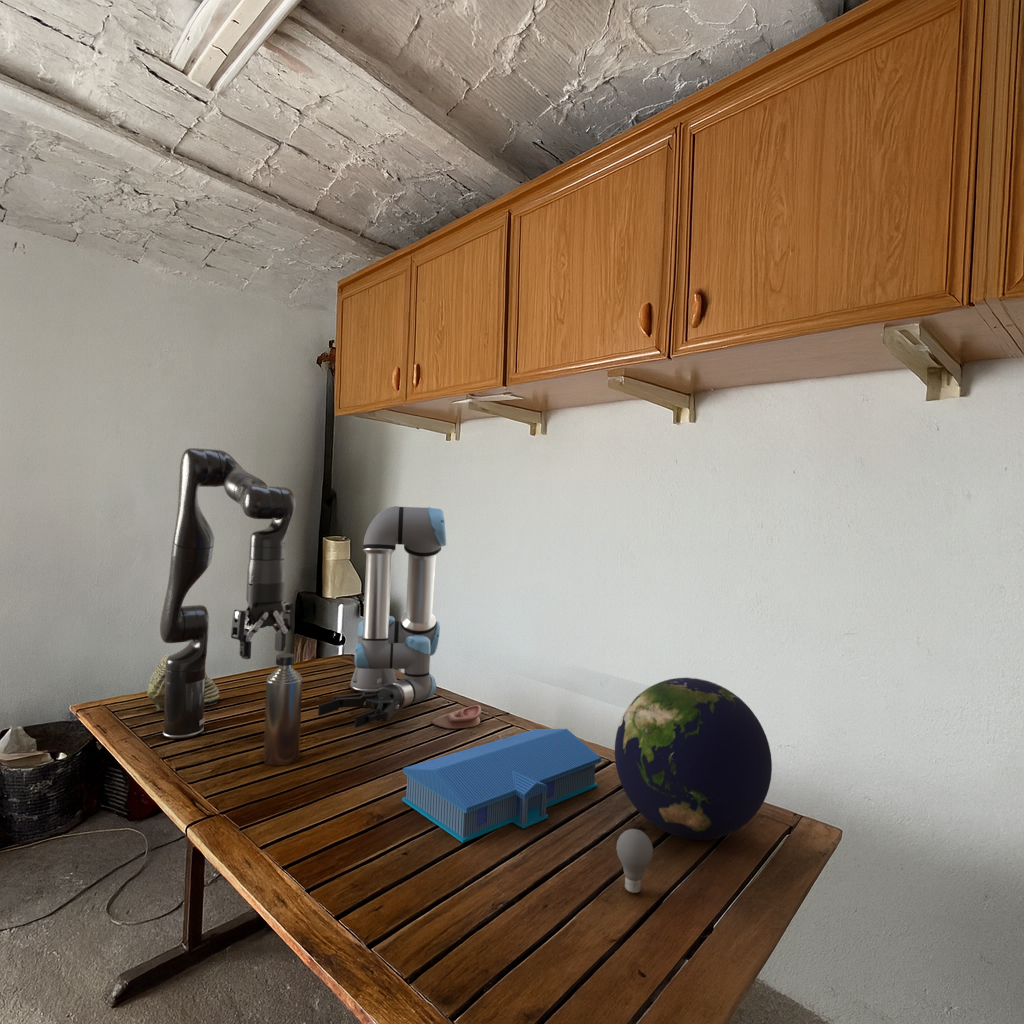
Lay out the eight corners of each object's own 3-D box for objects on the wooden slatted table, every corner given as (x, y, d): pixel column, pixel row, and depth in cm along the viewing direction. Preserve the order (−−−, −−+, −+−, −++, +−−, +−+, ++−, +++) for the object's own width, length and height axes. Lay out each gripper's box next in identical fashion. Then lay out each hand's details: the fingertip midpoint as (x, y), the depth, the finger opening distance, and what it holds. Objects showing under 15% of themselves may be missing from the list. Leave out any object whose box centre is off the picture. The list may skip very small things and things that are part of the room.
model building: (473, 850, 116) (475, 796, 115) (400, 799, 134) (402, 752, 134) (609, 791, 142) (611, 746, 142) (533, 755, 160) (535, 716, 160)
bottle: (265, 753, 155) (269, 653, 154) (300, 750, 157) (303, 652, 156) (261, 766, 147) (265, 661, 147) (298, 764, 149) (302, 660, 149)
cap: (276, 661, 153) (277, 653, 153) (294, 661, 154) (294, 653, 154) (275, 666, 149) (275, 657, 149) (293, 665, 150) (293, 657, 150)
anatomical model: (428, 712, 177) (441, 699, 188) (427, 726, 177) (440, 713, 188) (474, 717, 174) (484, 704, 186) (473, 731, 174) (484, 718, 186)
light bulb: (610, 879, 108) (613, 822, 108) (644, 879, 109) (647, 822, 109) (619, 902, 102) (622, 840, 102) (655, 901, 103) (658, 840, 103)
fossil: (144, 707, 182) (145, 655, 182) (212, 696, 194) (213, 647, 194) (151, 716, 175) (153, 662, 175) (221, 703, 188) (223, 653, 188)
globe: (594, 848, 118) (602, 688, 118) (628, 784, 146) (634, 654, 145) (767, 892, 107) (776, 715, 106) (767, 813, 134) (775, 673, 134)
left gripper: (281, 574, 144) (278, 645, 144) (225, 580, 131) (222, 658, 132) (304, 578, 140) (301, 651, 140) (248, 584, 127) (245, 664, 128)
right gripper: (426, 719, 176) (371, 742, 158) (362, 700, 189) (304, 719, 171) (427, 692, 176) (372, 712, 158) (363, 675, 189) (305, 692, 171)
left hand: (262, 654), depth 136 cm, fingers open, 8 cm apart
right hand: (336, 716), depth 164 cm, fingers open, 13 cm apart
